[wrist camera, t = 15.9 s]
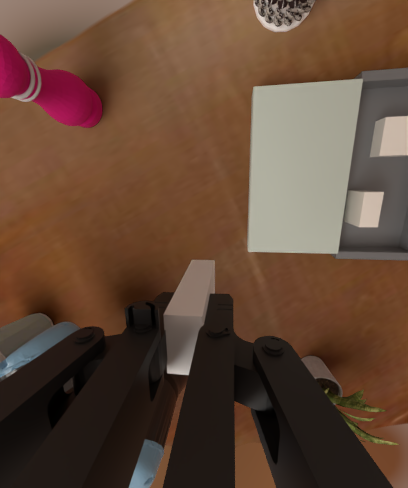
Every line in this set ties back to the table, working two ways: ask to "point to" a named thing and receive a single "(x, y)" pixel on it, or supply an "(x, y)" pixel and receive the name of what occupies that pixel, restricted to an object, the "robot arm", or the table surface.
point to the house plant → (335, 396)
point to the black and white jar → (282, 13)
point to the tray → (379, 172)
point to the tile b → (390, 137)
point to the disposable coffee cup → (22, 332)
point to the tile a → (363, 208)
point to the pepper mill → (47, 88)
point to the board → (300, 164)
